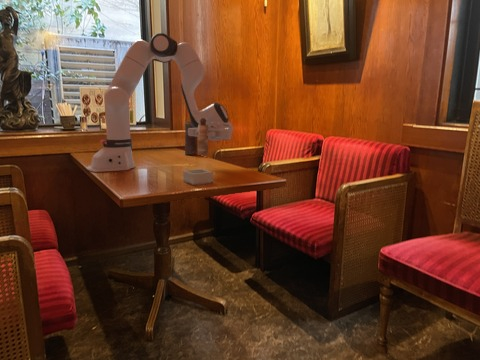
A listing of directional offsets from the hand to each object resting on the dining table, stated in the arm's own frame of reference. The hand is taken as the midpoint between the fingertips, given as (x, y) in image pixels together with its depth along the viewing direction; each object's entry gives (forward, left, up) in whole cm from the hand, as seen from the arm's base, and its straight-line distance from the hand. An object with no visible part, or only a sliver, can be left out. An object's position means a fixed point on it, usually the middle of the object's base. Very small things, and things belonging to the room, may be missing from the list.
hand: (202, 134), depth 163 cm
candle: (+25, +59, -19) cm, 66 cm away
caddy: (-8, -10, -19) cm, 23 cm away
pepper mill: (+1, +1, -9) cm, 9 cm away
